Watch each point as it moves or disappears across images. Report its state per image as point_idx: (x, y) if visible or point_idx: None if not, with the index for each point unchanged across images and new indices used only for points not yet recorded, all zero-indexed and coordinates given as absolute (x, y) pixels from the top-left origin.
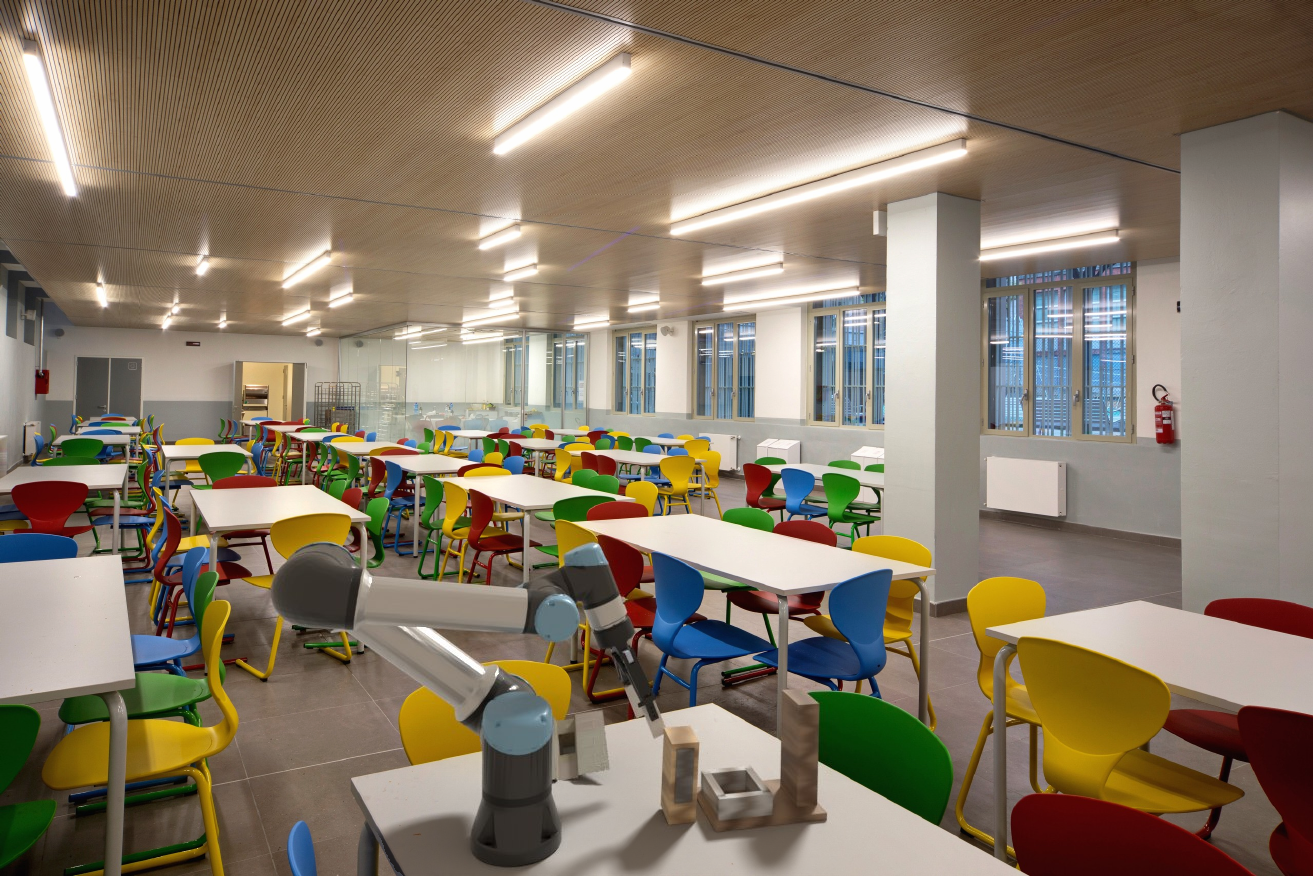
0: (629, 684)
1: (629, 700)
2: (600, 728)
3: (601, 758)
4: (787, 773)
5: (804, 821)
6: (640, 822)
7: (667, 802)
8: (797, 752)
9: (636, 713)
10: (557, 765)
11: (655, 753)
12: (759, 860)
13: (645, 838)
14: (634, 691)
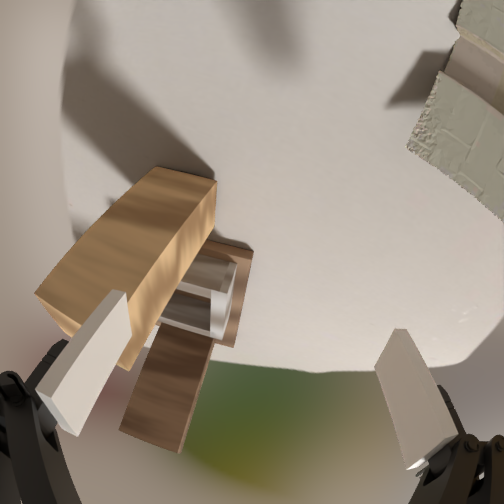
0: (439, 452)
1: (433, 382)
2: None
3: (451, 154)
4: (184, 348)
5: None
6: (174, 119)
7: (145, 188)
8: (141, 374)
9: (398, 345)
10: (501, 61)
11: (431, 273)
12: (79, 231)
13: (120, 113)
14: (414, 430)
